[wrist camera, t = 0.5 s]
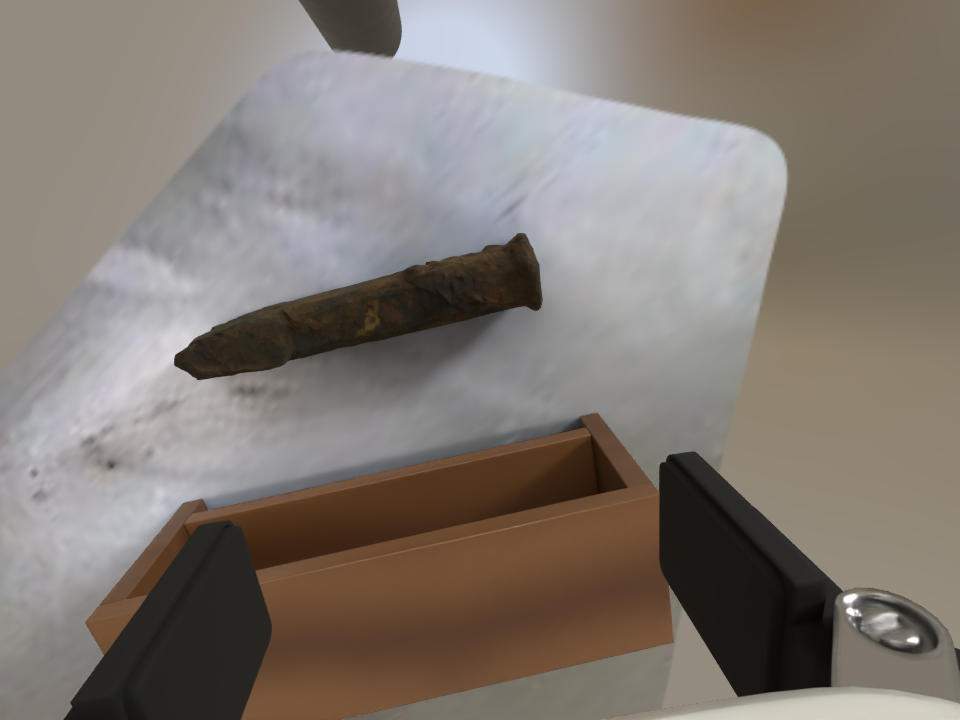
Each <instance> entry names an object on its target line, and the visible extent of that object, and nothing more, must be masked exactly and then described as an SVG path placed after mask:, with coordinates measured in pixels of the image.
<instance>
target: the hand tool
mask: <svg viewBox="0 0 960 720" xmlns="http://www.w3.org/2000/svg"><path fill="white" fill-rule="evenodd" d="M541 305H542V291H541V282H540V269H539V263H538V261H537V259H536V256H535V254H534V251H533V248H532V246H531V245H530V243H529V240H528V238H527V236H526V234H524V233H518V234H517V235H516V236H515V237H514V238H513V239H511V240H510V241H509V242H508V243H507V244H506V245H504V246H500V245H489V246H486V247H485V248H484V249H483V250H482V251H481V252H478V253H470V254H466V255H462V256H459V257H449V258H446V259H444V260H442V261H431V262H426V265H414V266H411V267H409V268H407V269H405V270H404V271H401V272H397V273H394V274H392V275H388V276H384V277H380V278H377V279H373V280H369V281H365V282H362V283H358V284H355V285H351V286H347V287H344V288H339V289H334V290H331V291H327V292H323V293H319V294H316V295H312V296H308V297H305V298H301V299H297V300H294V301H290V302H283V303H279V304H275V305H272V306H268V307H264V308H262V309H260V310H257V311H254V312H251V313H248V314H245V315H243V316H240V317H237V318H236V319H234V320H231V321H229V322H227V323H224V324H220V325H217V326H215V327H212V329H211V331H210V332H207V333H205V334H203V335H201V336H198V337H197V338H195V339H194V340H193V341H192V342H191V343H190V344H189V346H188V347H187V348H185V349H184V350H182V351H181V352H179V353H177V354H176V355H175V358H174V365H175V366H176V367H178V368H180V369H181V370H184V371H186V372H188V373H189V374H190V375H191V376H192V377H195V378H197V380H202V379H209V378H215V377H223V376H232V375H235V374H238V373H245V372H255V371H263V370H270V369H273V368H276V367H280V366H282V365H284V364H285V363H286V362H287V361H289V360H294V359H299V358H305V357H308V356H312V355H316V354H320V353H323V352H327V351H332V350H335V349H338V348H343V347H351V346H355V345H358V344H362V343H367V342H373V341H379V340H383V339H387V338H391V337H395V336H399V335H404V334H408V333H412V332H417V331H421V330H425V329H429V328H434V327H438V326H442V325H446V324H451V323H456V322H460V321H464V320H468V319H471V318H475V317H479V316H483V315H487V314H490V313H494V312H498V311H503V310H507V309H511V308H516V307H521V306H526V307H528V308H530V309H532V310H534V311H537V310H539V309H540V308H541Z"/></svg>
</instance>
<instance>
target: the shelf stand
mask: <svg viewBox="0 0 960 720" xmlns="http://www.w3.org/2000/svg"><path fill="white" fill-rule="evenodd" d="M580 424H581V429H577V430H572V431H567V432H563V433H558V434H554V435H549V436H545V437H540V438H536V439H531V440H526V441H522V442H517V443H513V444H508V445H504V446H499V447H494V448H490V449H485V450H481V451H476V452H472V453H467V454H463V455H458V456H453V457H449V458H444V459H440V460H435V461H431V462H426V463H422V464H417V465H412V466H408V467H403V468H399V469H394V470H390V471H385V472H380V473H376V474H371V475H367V476H362V477H358V478H353V479H349V480H344V481H339V482H335V483H330V484H326V485H321V486H317V487H312V488H307V489H303V490H298V491H294V492H289V493H285V494H280V495H276V496H271V497H266V498H262V499H257V500H253V501H248V502H244V503H239V504H235V505H230V506H225V507H221V508H216V509H212V510H207V509H206V506H205V504H204V502H203V500H202V499H201V500H196V501H192V502H187V503H184V504H183V505H182V506H181V507H180V508H179V509H178V511H177V512H176V513H175V514H174V515H173V517H172V518H171V519H170V520H169V521H168V523H167V524H166V525H165V526H164V528H163V529H162V530H161V531H160V532H159V534H158V535H157V536H156V537H155V538H154V540H153V541H152V542H151V543H150V544H149V546H148V547H147V548H146V549H145V551H144V552H143V553H142V554H141V555H140V557H139V558H138V559H137V560H136V561H135V563H134V564H133V565H132V566H131V567H130V569H129V570H128V571H127V572H126V574H125V575H124V576H123V577H122V578H121V580H120V581H119V582H118V583H117V584H116V586H115V587H114V588H113V589H112V590H111V592H110V593H109V594H108V595H107V597H106V598H105V599H104V600H103V601H102V603H101V604H100V606H98V608H97V609H96V610H95V611H94V612H93V614H92V615H91V616H90V617H89V618H88V620H87V621H86V625H87V627H88V628H89V630H90V632H91V633H92V635H93V637H94V638H95V640H96V642H97V644H98V645H99V647H100V649H101V650H102V652H103V654H104V655H105V654H106V653H107V651H108V650H109V648H110V647H111V646H112V644H113V643H114V642H115V640H116V639H117V637H118V636H119V635H120V633H121V632H122V631H123V629H124V628H125V626H126V625H127V624H128V622H129V621H130V619H131V618H132V617H133V615H134V614H135V613H136V611H137V610H138V608H139V607H140V606H141V604H142V603H143V601H144V600H145V599H146V597H147V596H148V595H149V593H150V592H151V590H152V589H153V588H154V586H155V585H156V584H157V582H158V581H159V579H160V578H161V577H162V575H163V574H164V572H165V571H166V570H167V568H168V567H169V566H170V564H171V563H172V561H173V560H174V559H175V557H176V556H177V554H178V553H179V552H180V550H181V549H182V548H183V546H184V545H185V543H186V542H187V541H188V539H189V538H190V536H191V535H192V534H193V532H194V531H195V530H196V528H197V527H198V526H199V525H201V524H205V523H212V522H219V521H226V520H229V521H231V522H232V523H233V524H234V526H240V527H241V528H242V530H243V533H244V536H245V539H246V543H247V546H248V549H249V552H250V555H251V558H252V562H253V565H254V568H255V571H256V574H257V577H258V581H259V584H260V587H261V590H262V593H263V597H264V600H265V603H266V606H267V609H268V612H269V616H270V619H271V623H272V634H271V639H270V642H269V645H268V648H267V650H266V653H265V656H264V659H263V661H262V664H261V667H260V669H259V672H258V675H257V677H256V680H255V683H254V686H253V688H252V691H251V694H250V696H249V699H248V702H247V704H246V707H245V710H244V713H243V715H242V718H241V720H341V719H345V718H350V717H354V716H358V715H363V714H367V713H371V712H376V711H380V710H384V709H389V708H393V707H397V706H402V705H406V704H410V703H415V702H419V701H423V700H427V699H432V698H436V697H440V696H445V695H449V694H453V693H458V692H462V691H466V690H471V689H475V688H479V687H484V686H488V685H492V684H497V683H501V682H505V681H509V680H514V679H518V678H522V677H527V676H531V675H535V674H540V673H544V672H548V671H553V670H557V669H561V668H566V667H570V666H574V665H579V664H583V663H587V662H591V661H596V660H600V659H604V658H609V657H613V656H617V655H622V654H626V653H630V652H635V651H639V650H643V649H648V648H652V647H656V646H660V645H665V644H669V643H673V642H674V639H673V628H672V616H671V605H670V594H669V584H668V582H667V581H666V579H665V577H664V575H663V573H662V571H661V567H660V562H659V491H658V490H657V489H656V487H655V486H654V485H653V483H651V481H650V480H649V478H648V477H647V476H646V475H645V473H644V472H643V471H642V469H641V468H640V467H639V466H638V464H637V463H636V462H635V460H634V459H633V458H632V457H631V455H630V454H629V453H628V451H627V450H626V449H625V448H624V446H623V445H622V444H621V442H620V441H619V440H618V439H617V437H616V436H615V435H614V433H613V432H612V431H611V430H610V428H609V427H608V426H607V424H606V423H605V422H604V421H603V419H602V418H601V417H600V415H599V414H598V413H595V414H591V415H586V416H581V417H580Z"/></svg>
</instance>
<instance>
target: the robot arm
mask: <svg viewBox="0 0 960 720" xmlns="http://www.w3.org/2000/svg"><path fill="white" fill-rule="evenodd" d="M659 562H660V567H661V571H662V573H663V575H664V577H665V579H666V581H667V582H668V584H669V585H670V587H671V589H672V590H673V592H674V594H675V595H676V597H677V598H678V600H679V602H680V603H681V605H682V607H683V608H684V610H685V611H686V613H687V615H688V616H689V618H690V619H691V621H692V623H693V624H694V626H695V628H696V629H697V631H698V633H699V634H700V636H701V637H702V639H703V641H704V642H705V644H706V645H707V647H708V649H709V650H710V652H711V654H712V655H713V657H714V659H715V660H716V662H717V664H718V665H719V667H720V668H721V670H722V672H723V673H724V675H725V677H726V678H727V680H728V681H729V683H730V685H731V686H732V688H733V689H734V691H735V693H736V694H737V696H738V697H736V698H729V699H723V700H716V701H709V702H703V703H696V704H689V705H683V706H677V707H671V708H665V709H659V710H653V711H647V712H641V713H635V714H629V715H623V716H617V717H611V718H605V719H599V720H960V649H957V648H954V643H953V641H952V638H951V636H950V634H949V632H948V630H947V628H946V627H945V626H944V625H943V624H942V623H941V622H940V621H939V620H938V618H937V617H935V616H934V615H933V614H931V613H930V612H929V611H927V610H926V609H925V608H923V607H922V606H920V605H918V604H916V603H914V602H912V601H911V600H909V599H907V598H905V597H902V596H899V595H896V594H894V593H891V592H888V591H884V590H878V589H873V588H854V589H850V590H846V591H844V592H843V591H842V590H841V589H840V588H839V587H838V586H837V585H836V584H835V583H834V582H833V581H832V580H831V579H830V578H829V577H828V576H827V575H826V574H824V573H823V572H822V571H821V570H820V569H819V568H818V567H817V566H816V565H815V564H814V563H813V562H812V561H811V560H810V559H809V558H808V557H807V556H806V555H804V554H803V553H802V552H801V551H800V550H799V549H798V548H797V547H796V546H795V545H794V544H793V543H792V542H791V541H790V540H789V539H788V538H786V536H785V535H784V534H782V533H781V532H780V531H779V530H778V529H777V528H776V527H775V526H774V525H773V524H772V523H771V522H770V521H769V520H768V519H767V518H766V517H764V515H762V514H761V513H760V512H759V511H758V510H757V509H756V508H754V507H753V506H752V505H751V504H750V503H749V502H748V501H747V500H746V499H745V498H744V497H743V496H742V495H741V494H739V493H738V492H737V491H736V490H735V489H734V488H733V487H732V486H731V485H730V484H729V483H728V482H727V481H726V480H725V479H724V478H723V477H722V476H721V475H720V474H718V473H717V472H716V471H715V470H714V469H713V468H712V467H711V466H710V465H709V464H708V463H707V462H706V461H705V460H704V459H703V458H702V457H701V456H700V455H699V454H697V453H696V452H685V453H679V454H672V455H669V456H668V457H667V459H666V462H662V463H661V464H660V469H659ZM271 634H272V623H271V619H270V616H269V612H268V609H267V606H266V603H265V600H264V597H263V593H262V590H261V587H260V584H259V581H258V577H257V574H256V571H255V568H254V565H253V562H252V558H251V555H250V552H249V549H248V546H247V543H246V539H245V536H244V533H243V530H242V528H241V527H240V526H234V524H233V523H232V522H231V521H229V520H226V521H219V522H212V523H205V524H201V525H199V526H198V527H197V528H196V530H195V531H194V532H193V534H192V535H191V536H190V538H189V539H188V541H187V542H186V543H185V545H184V546H183V548H182V549H181V550H180V552H179V553H178V554H177V556H176V557H175V559H174V560H173V561H172V563H171V564H170V566H169V567H168V568H167V570H166V571H165V572H164V574H163V575H162V577H161V578H160V579H159V581H158V582H157V584H156V585H155V586H154V588H153V589H152V590H151V592H150V593H149V595H148V596H147V597H146V599H145V600H144V601H143V603H142V604H141V606H140V607H139V608H138V610H137V611H136V613H135V614H134V615H133V617H132V618H131V619H130V621H129V622H128V624H127V625H126V626H125V628H124V629H123V631H122V632H121V633H120V635H119V636H118V637H117V639H116V640H115V642H114V643H113V644H112V646H111V647H110V648H109V650H108V651H107V653H106V654H105V655H104V657H103V658H102V660H101V661H100V662H99V664H98V665H97V666H96V668H95V669H94V671H93V672H92V673H91V675H90V676H89V678H88V679H87V680H86V682H85V683H84V684H83V686H82V687H81V689H80V690H79V691H78V693H77V694H76V695H75V697H74V698H73V700H72V701H71V702H70V703H71V705H72V709H71V710H70V711H69V713H68V714H67V716H66V717H65V718H64V720H241V718H242V715H243V713H244V710H245V707H246V704H247V702H248V699H249V696H250V694H251V691H252V688H253V686H254V683H255V680H256V677H257V675H258V672H259V669H260V667H261V664H262V661H263V659H264V656H265V653H266V650H267V648H268V645H269V642H270V639H271Z"/></svg>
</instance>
